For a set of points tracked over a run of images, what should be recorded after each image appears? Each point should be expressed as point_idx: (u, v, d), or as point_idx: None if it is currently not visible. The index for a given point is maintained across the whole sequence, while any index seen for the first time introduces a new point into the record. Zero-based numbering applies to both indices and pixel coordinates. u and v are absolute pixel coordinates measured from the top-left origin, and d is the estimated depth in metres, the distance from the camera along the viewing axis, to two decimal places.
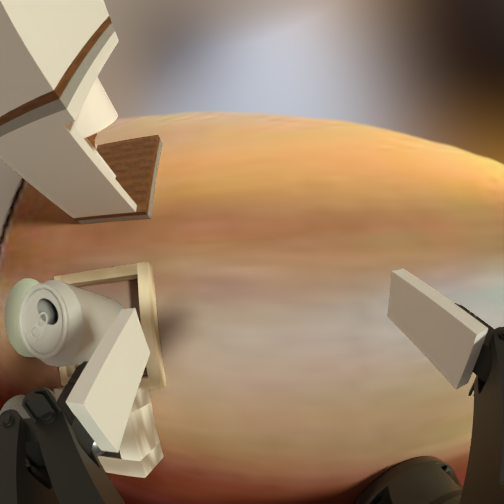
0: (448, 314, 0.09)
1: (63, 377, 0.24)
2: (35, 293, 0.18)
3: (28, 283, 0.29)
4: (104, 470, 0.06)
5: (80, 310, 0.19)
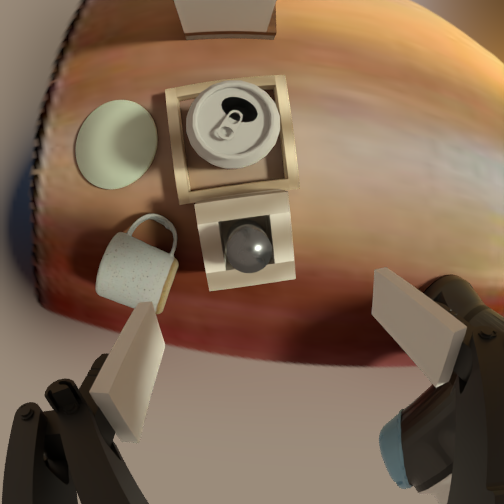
0: (427, 312, 0.09)
1: (182, 194, 0.30)
2: (215, 92, 0.19)
3: (115, 105, 0.27)
4: (124, 462, 0.06)
5: (276, 107, 0.20)
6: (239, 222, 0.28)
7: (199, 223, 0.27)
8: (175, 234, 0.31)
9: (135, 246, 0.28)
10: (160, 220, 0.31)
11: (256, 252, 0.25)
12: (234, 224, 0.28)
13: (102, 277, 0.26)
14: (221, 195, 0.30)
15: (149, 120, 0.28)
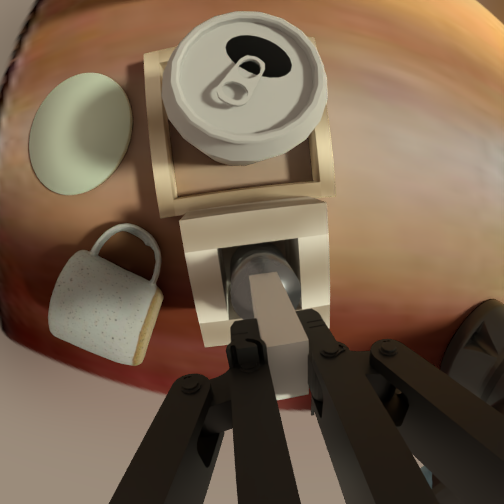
0: (277, 319, 0.11)
1: (165, 203, 0.20)
2: (216, 28, 0.09)
3: (79, 81, 0.17)
4: None
5: None
6: (249, 245, 0.19)
7: (187, 250, 0.17)
8: (158, 254, 0.21)
9: (99, 273, 0.18)
10: (137, 233, 0.21)
11: None
12: (241, 247, 0.19)
13: (55, 318, 0.16)
14: (222, 204, 0.20)
15: (121, 97, 0.18)
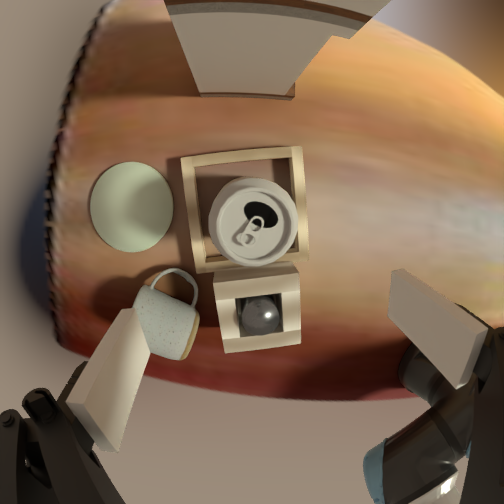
0: (448, 314, 0.09)
1: (199, 264, 0.32)
2: (238, 196, 0.21)
3: (129, 168, 0.30)
4: (104, 470, 0.06)
5: (295, 208, 0.23)
6: None
7: (217, 299, 0.29)
8: (196, 288, 0.33)
9: (160, 302, 0.30)
10: (181, 274, 0.34)
11: (267, 320, 0.29)
12: None
13: None
14: (236, 266, 0.33)
15: (165, 187, 0.31)
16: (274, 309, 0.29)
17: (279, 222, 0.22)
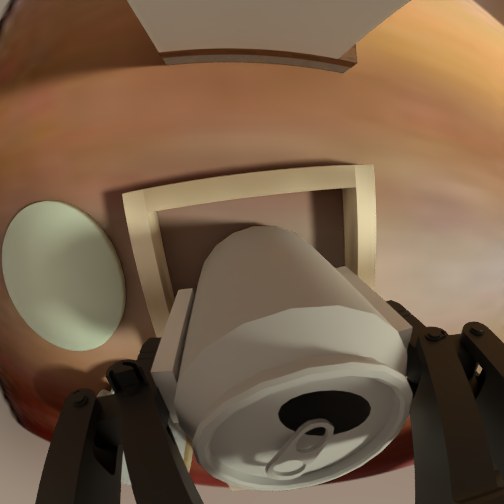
0: None
1: None
2: None
3: (43, 213, 0.14)
4: (177, 447, 0.07)
5: None
6: None
7: None
8: None
9: None
10: None
11: None
12: None
13: None
14: None
15: (103, 249, 0.15)
16: None
17: (371, 418, 0.06)
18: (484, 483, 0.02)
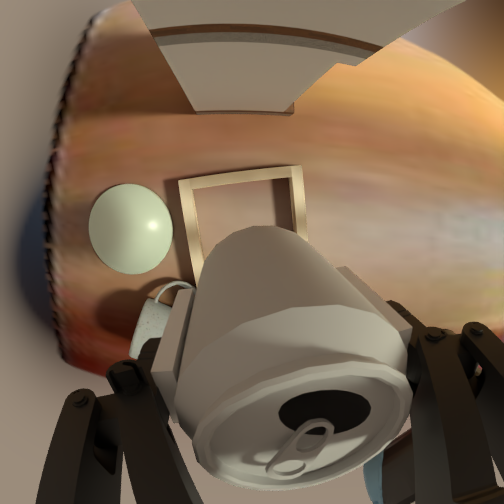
0: None
1: None
2: None
3: (126, 190, 0.29)
4: (177, 447, 0.07)
5: None
6: None
7: None
8: None
9: (165, 316, 0.30)
10: (185, 286, 0.33)
11: None
12: None
13: (136, 347, 0.28)
14: None
15: (163, 209, 0.31)
16: None
17: (371, 417, 0.06)
18: (485, 483, 0.02)
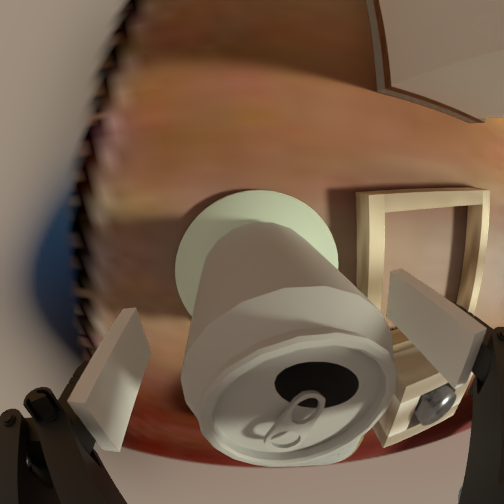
0: (447, 314, 0.09)
1: None
2: None
3: (263, 202, 0.17)
4: (105, 469, 0.06)
5: None
6: None
7: (403, 402, 0.17)
8: None
9: None
10: None
11: (443, 408, 0.17)
12: None
13: None
14: (408, 348, 0.20)
15: (329, 241, 0.18)
16: (454, 395, 0.17)
17: (359, 392, 0.08)
18: None
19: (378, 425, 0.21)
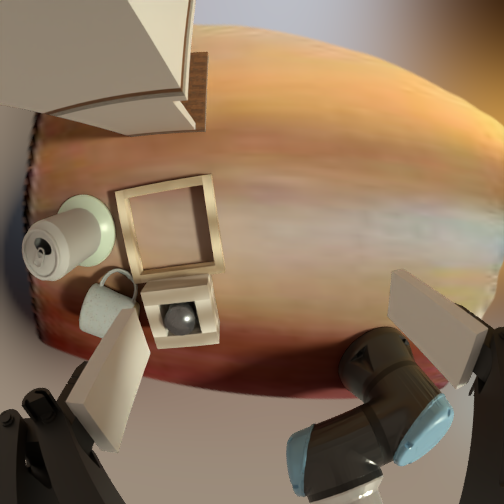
0: (448, 314, 0.09)
1: (136, 276, 0.38)
2: (30, 234, 0.25)
3: (80, 200, 0.35)
4: (104, 470, 0.06)
5: (65, 239, 0.26)
6: None
7: (145, 305, 0.35)
8: (135, 284, 0.38)
9: (105, 296, 0.35)
10: (123, 273, 0.38)
11: (184, 323, 0.35)
12: None
13: (83, 320, 0.33)
14: (164, 278, 0.38)
15: (107, 215, 0.36)
16: (188, 314, 0.35)
17: (52, 251, 0.25)
18: None
19: None
